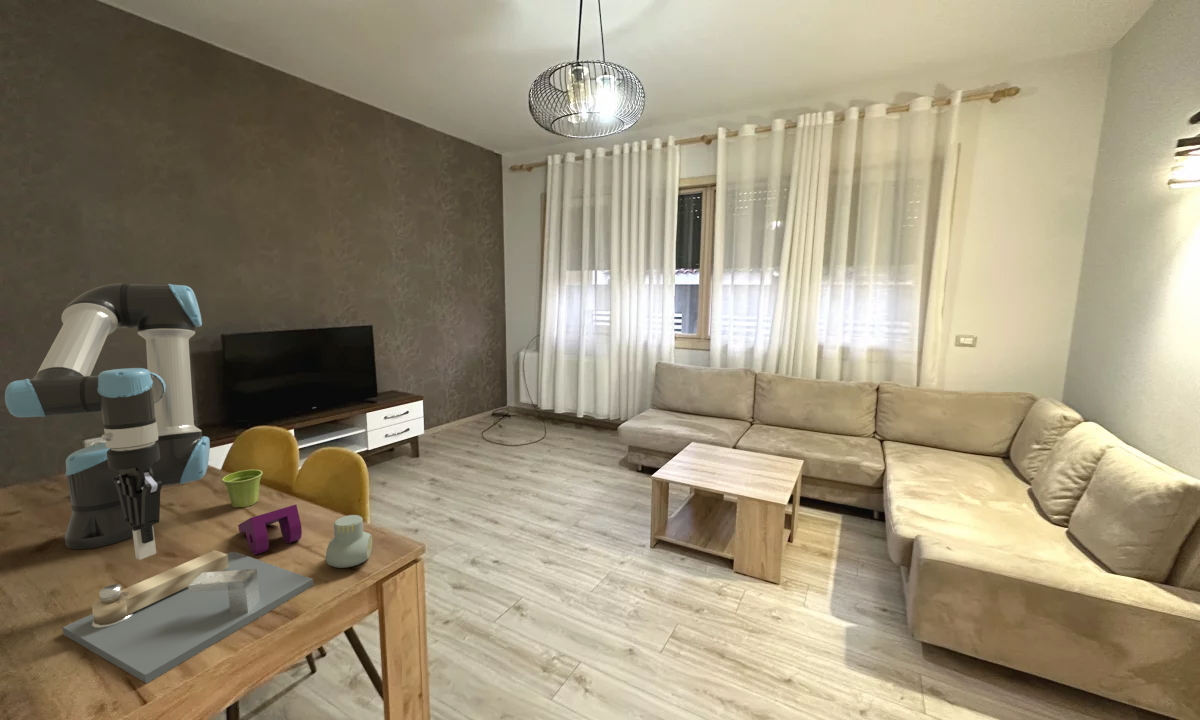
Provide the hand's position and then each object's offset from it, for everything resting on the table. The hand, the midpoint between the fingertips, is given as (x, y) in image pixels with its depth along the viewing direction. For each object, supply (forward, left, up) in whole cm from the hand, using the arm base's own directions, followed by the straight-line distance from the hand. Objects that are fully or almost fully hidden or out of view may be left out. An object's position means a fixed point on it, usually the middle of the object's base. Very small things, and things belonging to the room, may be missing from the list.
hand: (146, 555), depth 98 cm
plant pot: (-25, +33, -7) cm, 42 cm away
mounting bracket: (+1, +23, -8) cm, 24 cm away
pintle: (+8, -9, -6) cm, 13 cm away
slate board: (+17, 0, -7) cm, 18 cm away
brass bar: (+8, -1, -5) cm, 10 cm away
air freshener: (+29, +24, -7) cm, 39 cm away
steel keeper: (+24, +1, -6) cm, 25 cm away
